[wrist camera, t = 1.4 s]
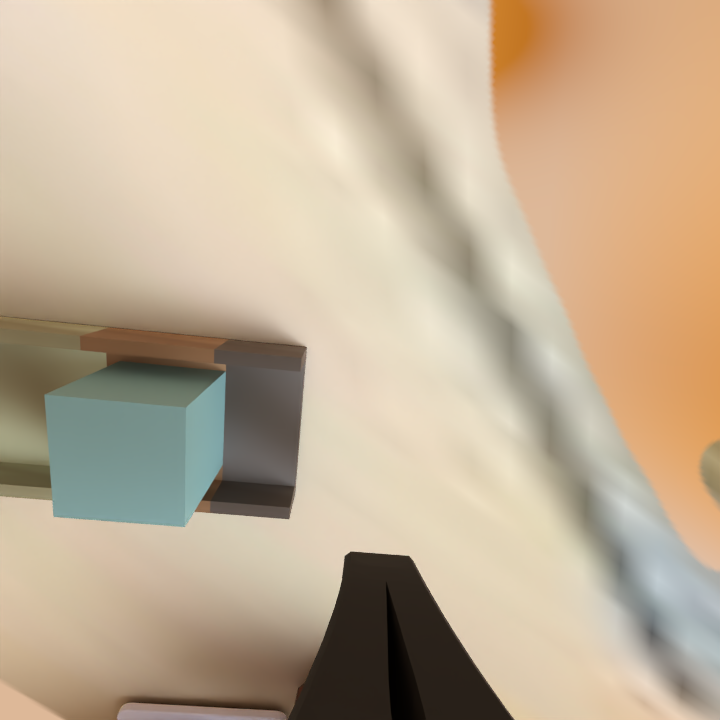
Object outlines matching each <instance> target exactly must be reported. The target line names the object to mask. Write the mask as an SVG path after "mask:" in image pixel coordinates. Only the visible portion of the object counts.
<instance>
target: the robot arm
mask: <svg viewBox="0 0 720 720" xmlns="http://www.w3.org/2000/svg"><path fill="white" fill-rule="evenodd" d="M117 720H287V718H286V715H285V714H284V713H282V712H281V711H273V710H255V709H237V708H219V707H201V706H183V705H166V704H148V703H126V704H124V705H123V706H122V707H121V708H120V710H119V712H118V714H117ZM288 720H514V719H513V717H512V716H511V715H510V713H509V712H508V711H507V709H506V708H505V707H504V705H503V704H502V702H501V701H500V699H499V698H498V697H497V695H496V694H495V692H494V691H493V690H492V688H491V687H490V685H489V684H488V683H487V681H486V680H485V678H484V677H483V675H482V674H481V672H480V671H479V669H478V668H477V667H476V665H475V664H474V662H473V661H472V659H471V658H470V656H469V654H468V653H467V651H466V650H465V648H464V647H463V645H462V644H461V642H460V640H459V639H458V637H457V636H456V634H455V633H454V631H453V630H452V628H451V626H450V625H449V623H448V621H447V620H446V618H445V617H444V615H443V613H442V612H441V610H440V608H439V606H438V605H437V603H436V601H435V600H434V598H433V596H432V595H431V593H430V591H429V589H428V587H427V586H426V584H425V582H424V580H423V578H422V577H421V575H420V573H419V571H418V569H417V567H416V565H415V563H414V561H413V560H412V559H411V558H410V557H409V556H402V555H389V554H375V553H362V552H350V553H348V554H347V555H346V556H345V559H344V568H343V576H342V583H341V587H340V591H339V594H338V598H337V601H336V604H335V608H334V610H333V613H332V616H331V619H330V622H329V625H328V627H327V630H326V633H325V636H324V639H323V641H322V644H321V646H320V649H319V651H318V653H317V656H316V658H315V660H314V663H313V665H312V667H311V670H310V672H309V674H308V677H307V679H306V681H305V684H304V686H303V688H302V691H301V693H300V695H299V697H298V699H297V701H296V703H295V706H294V708H293V710H292V712H291V714H290V716H289V718H288Z"/></svg>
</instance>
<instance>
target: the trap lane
mask: <svg viewBox="0 0 720 720" xmlns="http://www.w3.org/2000/svg"><path fill="white" fill-rule="evenodd" d="M306 350H307V347H299V346H289V345H280V344H270V343H260V342H250V341H240V340H230V339H220V338H210V337H200V336H190V335H180V334H170V333H160V332H151V331H141V330H131V329H121V328H111V327H101V326H91V325H81V324H71V323H61V322H51V321H41V320H31V319H22V318H12V317H2V316H0V496H5V497H17V498H30V499H43V500H52V488H51V475H50V462H49V448H48V435H47V422H46V409H45V396H44V395H45V394H47V393H49V392H51V391H54V390H56V389H58V388H60V387H63V386H65V385H67V384H69V383H72V382H74V381H76V380H78V379H81V378H83V377H85V376H87V375H90V374H92V373H94V372H96V371H99V370H101V369H103V368H105V367H108V366H110V365H112V364H114V363H117V362H119V361H125V362H135V363H146V364H156V365H166V366H177V367H187V368H197V369H208V370H218V371H226V382H225V413H224V443H223V465H222V467H221V469H220V470H219V472H218V474H217V475H216V477H215V479H214V480H213V482H212V483H211V485H210V487H209V488H208V490H207V492H206V493H205V495H204V496H203V498H202V500H201V501H200V503H199V505H198V506H197V508H196V510H195V511H194V512H206V513H219V514H231V515H244V516H256V517H269V518H281V519H289V517H290V513H291V509H292V504H293V500H294V496H295V488H296V475H297V463H298V450H299V438H300V425H301V413H302V400H303V388H304V375H305V363H306Z"/></svg>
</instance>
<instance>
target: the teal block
mask: <svg viewBox="0 0 720 720" xmlns="http://www.w3.org/2000/svg"><path fill="white" fill-rule="evenodd" d="M225 382H226V371H218V370H208V369H197V368H187V367H177V366H166V365H156V364H146V363H135V362H125V361H119V362H117V363H114V364H112V365H110V366H108V367H105V368H103V369H101V370H99V371H96V372H94V373H92V374H90V375H87V376H85V377H83V378H81V379H78V380H76V381H74V382H72V383H69V384H67V385H65V386H63V387H60V388H58V389H56V390H54V391H51V392H49V393H47V394H45V395H44V396H45V409H46V422H47V435H48V448H49V462H50V475H51V488H52V501H53V514H54V517H63V518H76V519H89V520H101V521H114V522H127V523H140V524H153V525H166V526H179V527H185V526H186V524H187V523H188V521H189V519H190V518H191V516H192V514H193V513H194V511H195V510H196V508H197V506H198V505H199V503H200V501H201V500H202V498H203V496H204V495H205V493H206V492H207V490H208V488H209V487H210V485H211V483H212V482H213V480H214V479H215V477H216V475H217V474H218V472H219V470H220V469H221V467H222V465H223V443H224V413H225Z"/></svg>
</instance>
